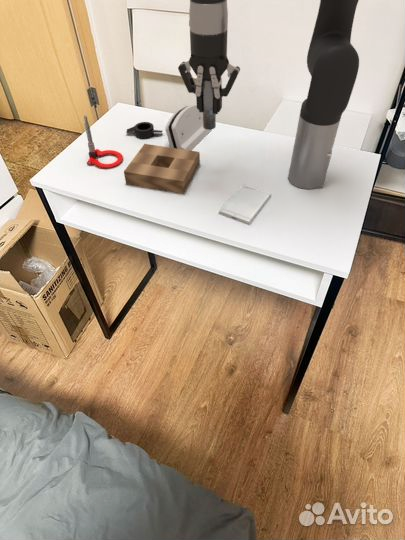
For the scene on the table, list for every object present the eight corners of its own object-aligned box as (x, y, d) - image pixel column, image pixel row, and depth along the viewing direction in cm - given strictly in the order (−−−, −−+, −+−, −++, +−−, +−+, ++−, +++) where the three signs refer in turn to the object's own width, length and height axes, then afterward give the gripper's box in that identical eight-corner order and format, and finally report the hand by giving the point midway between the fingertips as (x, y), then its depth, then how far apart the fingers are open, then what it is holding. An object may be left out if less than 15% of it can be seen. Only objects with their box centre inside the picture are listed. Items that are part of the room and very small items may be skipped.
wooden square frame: (199, 164, 105) (199, 151, 102) (184, 194, 96) (183, 181, 93) (146, 156, 108) (144, 143, 105) (126, 184, 99) (123, 171, 96)
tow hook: (127, 155, 110) (96, 151, 110) (121, 112, 100) (88, 108, 101) (117, 172, 104) (85, 167, 105) (110, 128, 94) (75, 123, 95)
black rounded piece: (141, 125, 121) (140, 117, 119) (165, 135, 117) (164, 126, 115) (124, 135, 117) (123, 127, 114) (148, 145, 113) (147, 136, 110)
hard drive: (242, 183, 97) (218, 210, 90) (271, 193, 95) (249, 221, 87) (241, 189, 99) (218, 215, 92) (270, 198, 96) (249, 227, 89)
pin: (217, 124, 91) (217, 76, 83) (213, 130, 89) (213, 82, 81) (205, 122, 92) (204, 75, 84) (201, 128, 90) (200, 80, 82)
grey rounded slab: (186, 155, 108) (173, 121, 102) (173, 156, 111) (160, 123, 105) (212, 129, 118) (202, 97, 112) (200, 131, 121) (189, 99, 115)
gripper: (247, 23, 76) (242, 108, 89) (181, 18, 79) (185, 101, 92) (239, 35, 71) (235, 123, 84) (168, 30, 74) (175, 115, 87)
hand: (209, 111), depth 88 cm, fingers closed on pin, 3 cm apart
